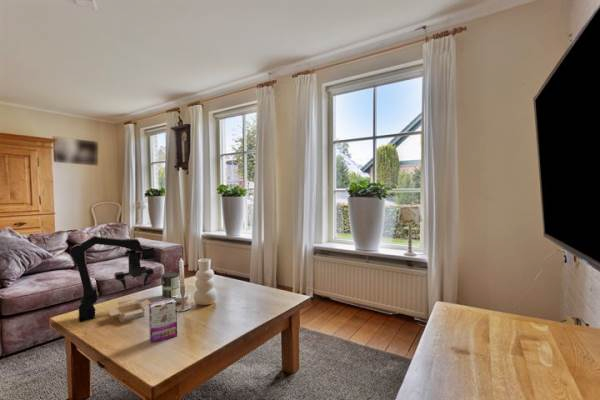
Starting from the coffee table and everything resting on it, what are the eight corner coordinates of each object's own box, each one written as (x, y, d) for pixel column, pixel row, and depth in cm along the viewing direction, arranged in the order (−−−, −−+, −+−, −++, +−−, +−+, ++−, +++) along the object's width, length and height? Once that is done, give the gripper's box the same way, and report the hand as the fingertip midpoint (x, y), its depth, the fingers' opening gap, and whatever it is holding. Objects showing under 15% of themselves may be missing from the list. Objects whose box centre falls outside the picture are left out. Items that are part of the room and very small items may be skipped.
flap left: (119, 305, 158) (118, 302, 160) (119, 306, 158) (118, 302, 160) (136, 302, 163) (134, 298, 165) (136, 302, 163) (134, 299, 165)
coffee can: (162, 300, 178) (161, 277, 178) (162, 295, 188) (161, 273, 187) (180, 297, 183) (179, 275, 182) (179, 292, 192) (179, 271, 192)
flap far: (144, 306, 157) (150, 303, 159) (140, 302, 163) (146, 299, 165) (144, 307, 157) (151, 303, 159) (140, 302, 163) (147, 299, 165)
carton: (112, 327, 142) (112, 319, 142) (107, 317, 154) (107, 309, 154) (146, 318, 152) (146, 310, 152) (139, 310, 164) (139, 302, 164)
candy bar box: (174, 332, 138) (174, 298, 138) (177, 336, 134) (177, 301, 134) (148, 339, 132) (148, 303, 131) (150, 343, 128) (150, 307, 127)
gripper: (117, 266, 152) (118, 296, 153) (156, 261, 164) (156, 288, 165) (114, 262, 161) (114, 290, 161) (150, 257, 173) (151, 283, 173)
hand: (134, 288), depth 165 cm, fingers open, 9 cm apart
